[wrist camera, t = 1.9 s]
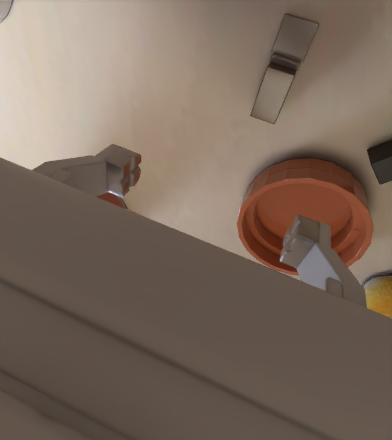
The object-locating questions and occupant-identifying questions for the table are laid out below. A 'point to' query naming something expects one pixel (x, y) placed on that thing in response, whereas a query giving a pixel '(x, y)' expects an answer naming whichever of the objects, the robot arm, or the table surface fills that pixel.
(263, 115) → the block
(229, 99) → the table surface
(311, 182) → the bowl
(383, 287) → the bread roll
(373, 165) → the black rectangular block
